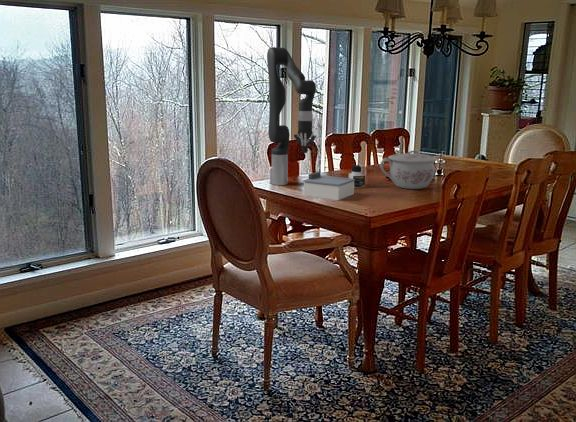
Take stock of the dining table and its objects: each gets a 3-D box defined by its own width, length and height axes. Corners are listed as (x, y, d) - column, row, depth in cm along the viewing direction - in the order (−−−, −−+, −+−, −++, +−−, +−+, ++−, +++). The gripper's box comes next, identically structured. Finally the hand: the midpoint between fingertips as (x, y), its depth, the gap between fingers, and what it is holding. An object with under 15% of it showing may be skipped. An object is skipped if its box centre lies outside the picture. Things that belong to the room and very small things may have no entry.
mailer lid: (303, 181, 286) (303, 175, 286) (320, 176, 302) (320, 170, 301) (338, 186, 276) (339, 179, 275) (355, 180, 291) (355, 174, 290)
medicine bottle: (352, 188, 309) (353, 166, 306) (348, 185, 316) (348, 164, 313) (364, 187, 311) (365, 166, 308) (359, 185, 318) (360, 164, 315)
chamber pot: (444, 187, 314) (447, 150, 309) (420, 194, 294) (423, 155, 289) (401, 180, 332) (403, 146, 327) (376, 187, 312) (377, 150, 307)
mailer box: (303, 195, 288) (303, 182, 286) (320, 189, 303) (320, 177, 301) (338, 200, 278) (338, 186, 276) (353, 194, 293) (354, 181, 291)
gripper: (290, 119, 290) (290, 152, 294) (312, 120, 283) (312, 154, 287) (298, 118, 296) (297, 151, 300) (319, 119, 289) (319, 153, 293)
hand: (304, 152), depth 293 cm, fingers closed
